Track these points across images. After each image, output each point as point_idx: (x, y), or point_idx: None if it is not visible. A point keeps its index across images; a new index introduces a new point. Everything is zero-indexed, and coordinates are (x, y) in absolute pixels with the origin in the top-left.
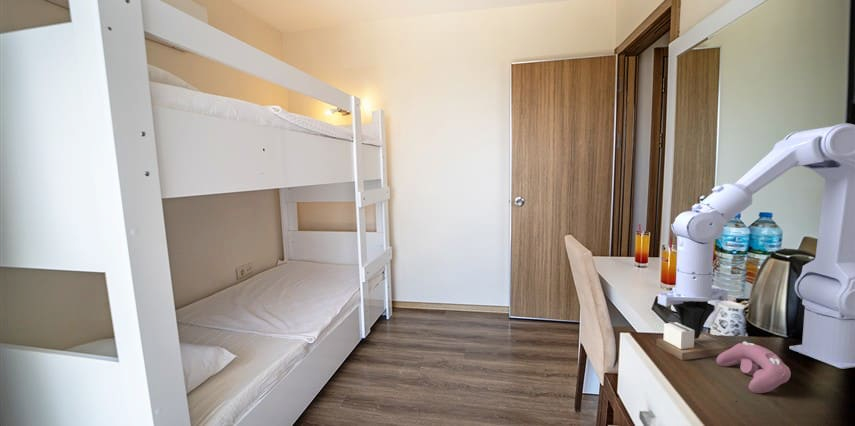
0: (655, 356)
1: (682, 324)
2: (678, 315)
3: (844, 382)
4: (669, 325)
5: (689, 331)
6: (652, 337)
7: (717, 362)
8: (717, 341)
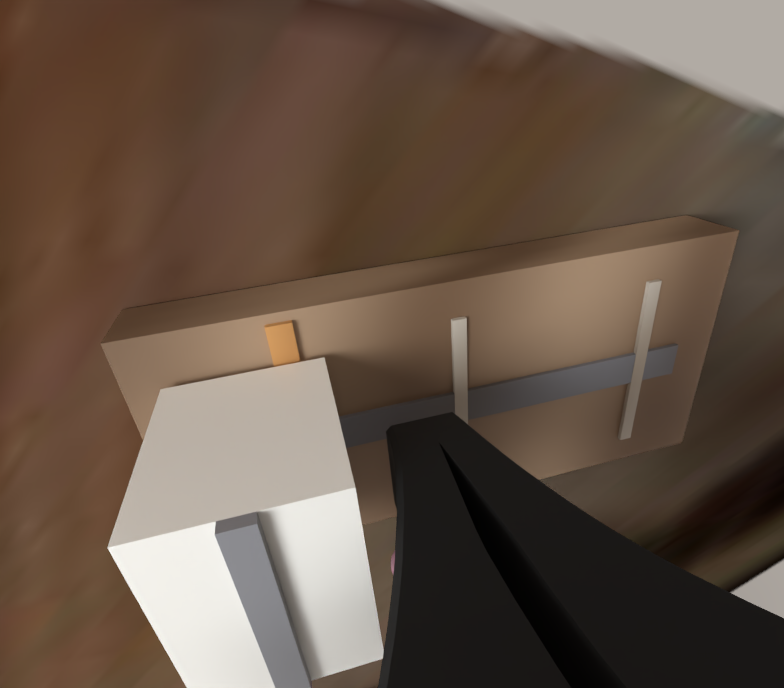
0: (9, 481)
1: (397, 515)
2: (391, 619)
3: (729, 590)
4: (159, 595)
5: (313, 675)
6: (199, 94)
7: (391, 563)
8: (626, 393)
